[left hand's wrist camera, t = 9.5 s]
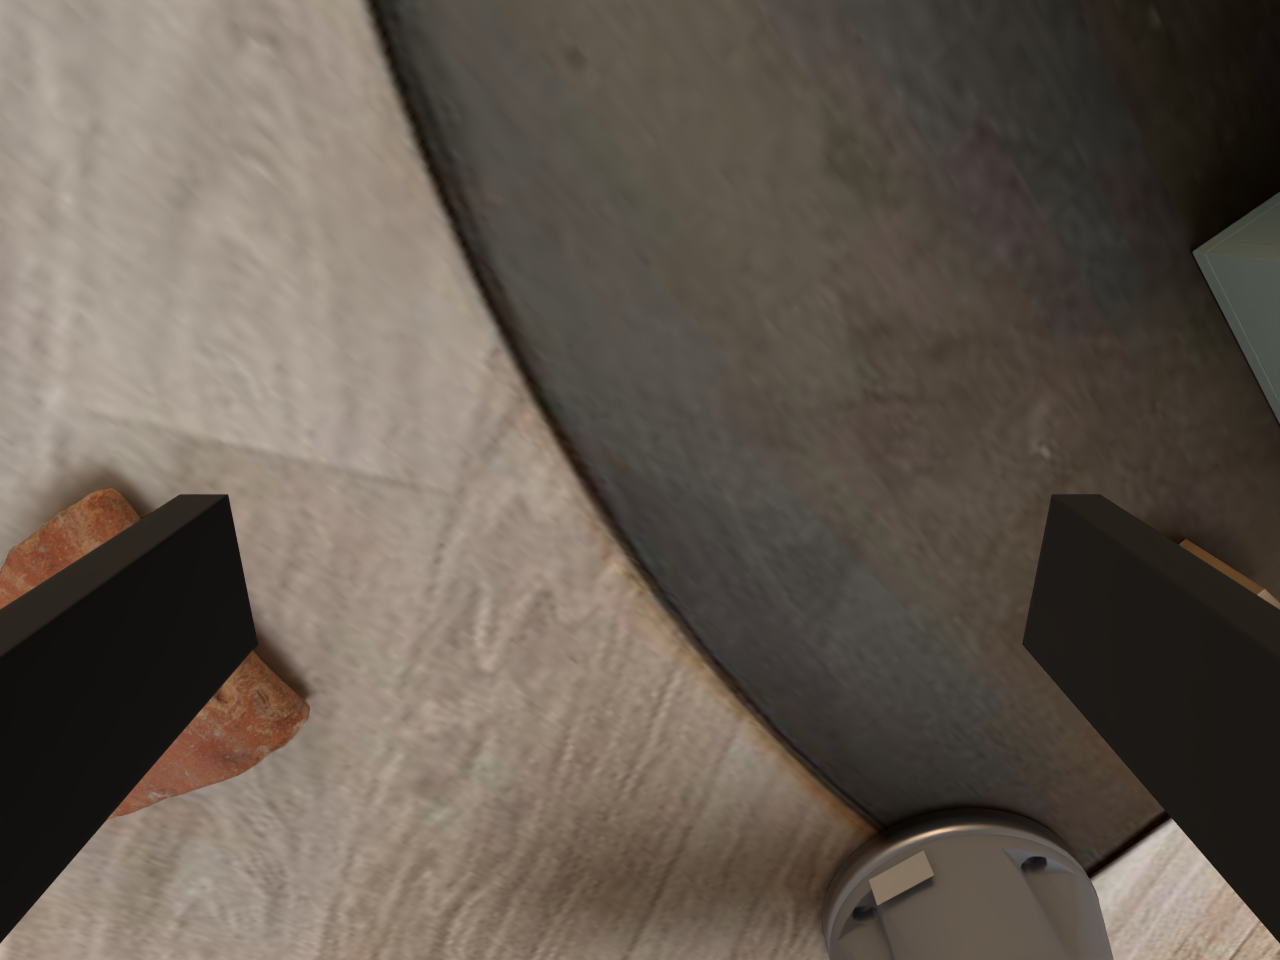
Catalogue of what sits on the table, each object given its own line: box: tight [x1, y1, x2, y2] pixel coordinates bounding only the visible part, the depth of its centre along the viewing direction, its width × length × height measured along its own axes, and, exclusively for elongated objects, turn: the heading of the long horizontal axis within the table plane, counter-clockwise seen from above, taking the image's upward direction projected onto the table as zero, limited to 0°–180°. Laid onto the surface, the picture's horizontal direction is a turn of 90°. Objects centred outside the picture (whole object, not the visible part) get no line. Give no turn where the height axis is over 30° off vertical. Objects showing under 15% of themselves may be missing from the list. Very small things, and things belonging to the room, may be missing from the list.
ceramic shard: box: [0, 488, 310, 819], centre depth 37 cm, size 15×6×15 cm
